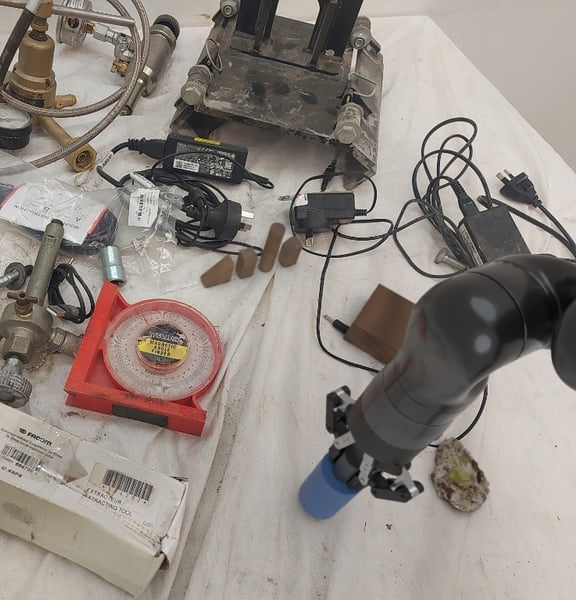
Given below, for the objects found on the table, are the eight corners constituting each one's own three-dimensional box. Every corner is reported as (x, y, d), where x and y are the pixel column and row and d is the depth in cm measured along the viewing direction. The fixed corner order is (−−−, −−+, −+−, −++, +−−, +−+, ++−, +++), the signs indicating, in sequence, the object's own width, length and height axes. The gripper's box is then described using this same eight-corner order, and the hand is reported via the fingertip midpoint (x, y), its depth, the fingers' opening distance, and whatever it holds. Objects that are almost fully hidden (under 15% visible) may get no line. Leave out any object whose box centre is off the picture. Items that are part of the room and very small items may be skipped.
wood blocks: (289, 254, 104) (304, 215, 96) (295, 265, 103) (311, 226, 95) (159, 287, 98) (163, 249, 90) (164, 299, 97) (168, 261, 88)
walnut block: (422, 331, 97) (435, 315, 93) (398, 372, 92) (411, 357, 88) (368, 300, 100) (379, 283, 96) (342, 338, 95) (352, 322, 91)
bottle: (348, 506, 77) (393, 466, 64) (314, 527, 75) (354, 490, 62) (323, 470, 80) (361, 424, 67) (290, 488, 78) (323, 445, 65)
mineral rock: (507, 511, 78) (459, 504, 76) (483, 519, 82) (437, 513, 80) (482, 436, 85) (438, 428, 83) (461, 447, 88) (418, 439, 86)
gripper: (326, 366, 56) (285, 433, 71) (423, 495, 50) (357, 541, 64) (384, 337, 59) (334, 408, 73) (484, 456, 52) (408, 509, 66)
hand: (345, 470), depth 68 cm, fingers closed on bottle, 3 cm apart
